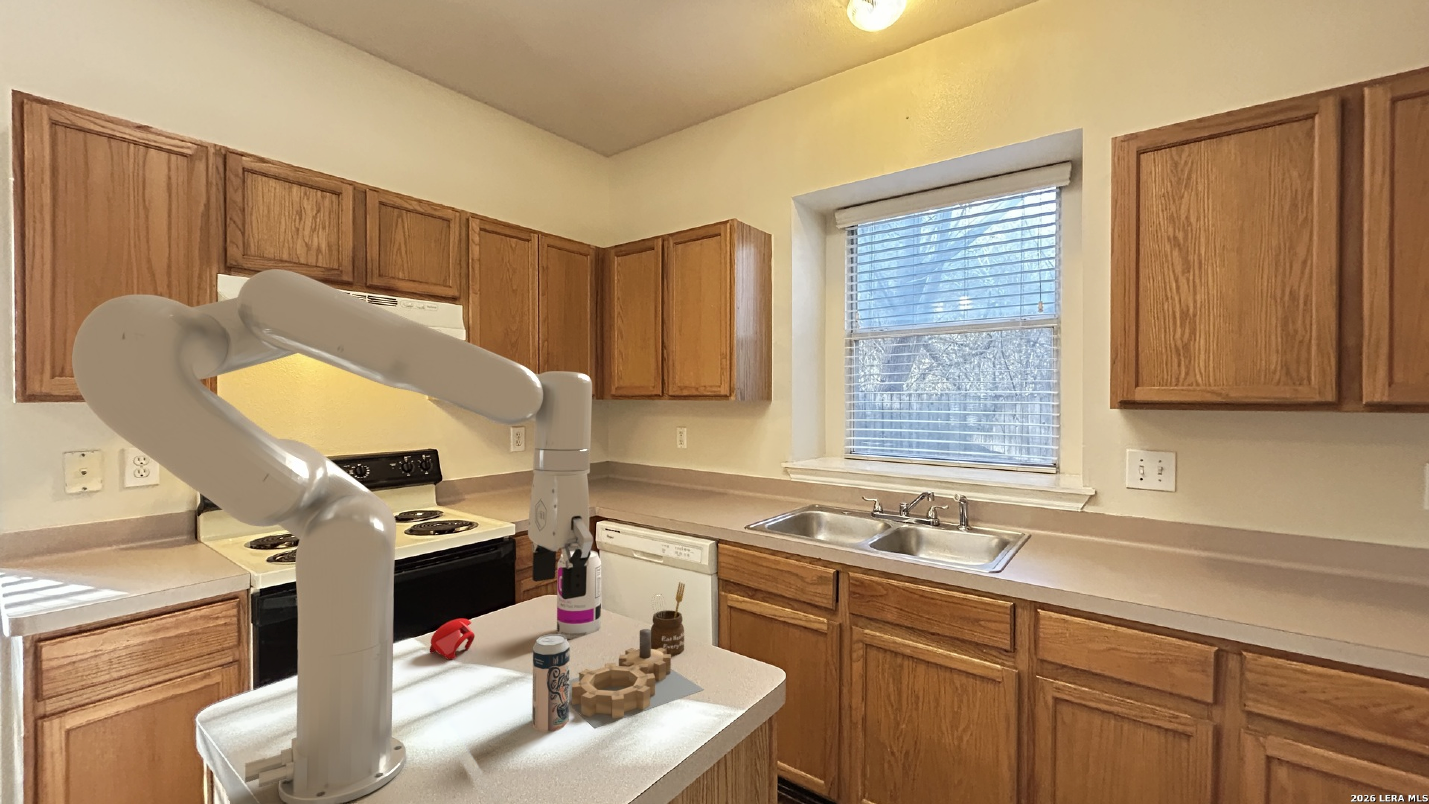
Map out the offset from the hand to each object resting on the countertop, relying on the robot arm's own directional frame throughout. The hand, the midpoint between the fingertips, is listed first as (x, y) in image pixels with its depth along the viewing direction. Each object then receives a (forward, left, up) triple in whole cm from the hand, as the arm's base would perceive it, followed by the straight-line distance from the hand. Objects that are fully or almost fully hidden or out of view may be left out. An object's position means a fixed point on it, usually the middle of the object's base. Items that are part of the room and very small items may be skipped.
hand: (558, 588), depth 81 cm
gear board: (+12, +2, -19) cm, 22 cm away
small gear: (+17, +5, -18) cm, 25 cm away
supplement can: (+17, +30, -19) cm, 39 cm away
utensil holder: (+25, +11, -19) cm, 33 cm away
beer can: (-1, 0, -19) cm, 19 cm away
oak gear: (+9, +1, -18) cm, 20 cm away
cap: (-5, +34, -19) cm, 39 cm away
